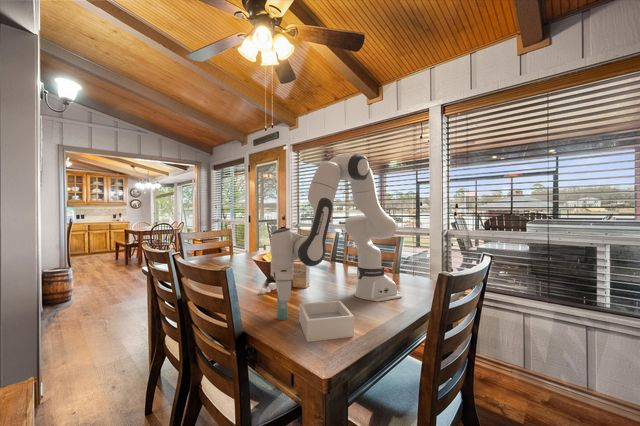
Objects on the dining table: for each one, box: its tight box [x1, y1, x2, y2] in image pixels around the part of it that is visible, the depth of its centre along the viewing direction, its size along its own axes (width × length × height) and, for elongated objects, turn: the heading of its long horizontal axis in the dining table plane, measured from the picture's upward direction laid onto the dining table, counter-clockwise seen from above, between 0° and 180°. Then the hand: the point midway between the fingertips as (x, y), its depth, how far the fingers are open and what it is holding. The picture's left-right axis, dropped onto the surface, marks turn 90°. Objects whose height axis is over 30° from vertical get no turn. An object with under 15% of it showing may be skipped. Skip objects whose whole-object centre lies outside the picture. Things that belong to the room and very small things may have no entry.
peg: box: [276, 294, 288, 321], centre depth 112 cm, size 4×4×9 cm
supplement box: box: [292, 261, 311, 289], centre depth 154 cm, size 8×5×13 cm, turn 70°
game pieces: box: [259, 282, 277, 295], centre depth 147 cm, size 12×3×3 cm, turn 157°
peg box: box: [299, 300, 355, 343], centre depth 103 cm, size 16×16×7 cm
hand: (282, 305), depth 112 cm, fingers closed on peg, 4 cm apart
